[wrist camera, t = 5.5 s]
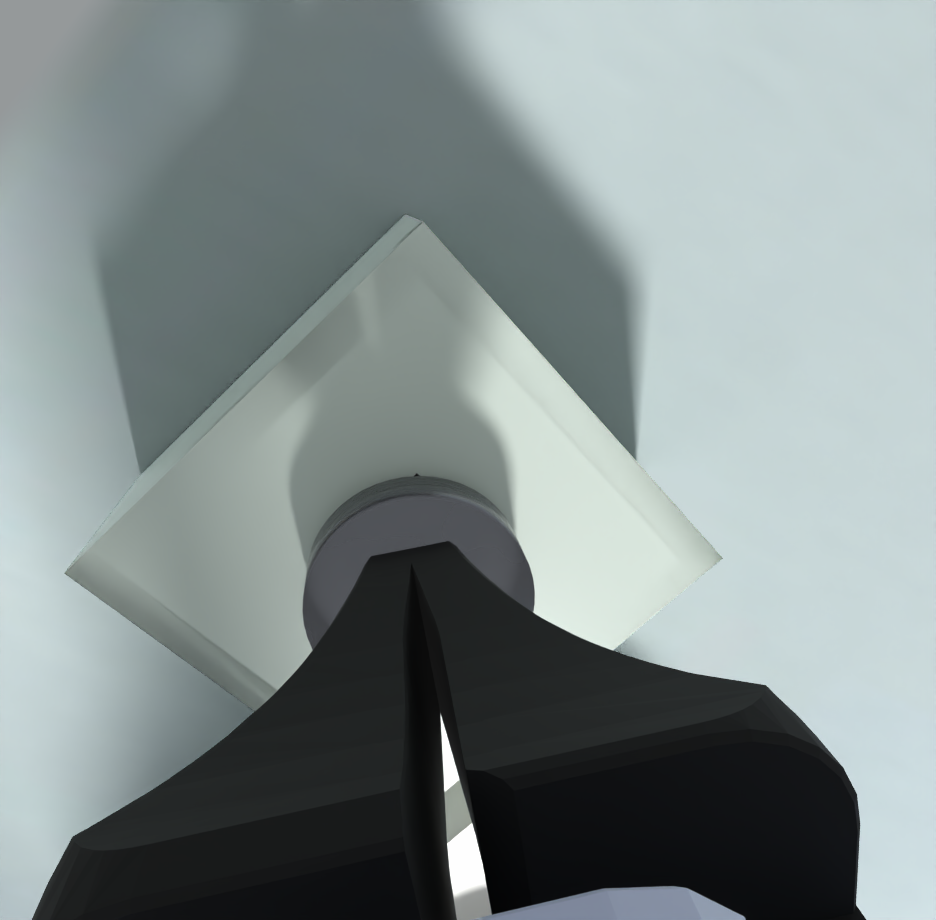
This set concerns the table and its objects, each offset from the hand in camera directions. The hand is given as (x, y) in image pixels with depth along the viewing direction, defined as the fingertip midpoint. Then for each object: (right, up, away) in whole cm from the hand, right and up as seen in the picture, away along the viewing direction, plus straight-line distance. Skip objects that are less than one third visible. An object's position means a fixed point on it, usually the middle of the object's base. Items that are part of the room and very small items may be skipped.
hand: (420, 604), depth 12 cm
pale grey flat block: (-1, +2, +6) cm, 6 cm away
